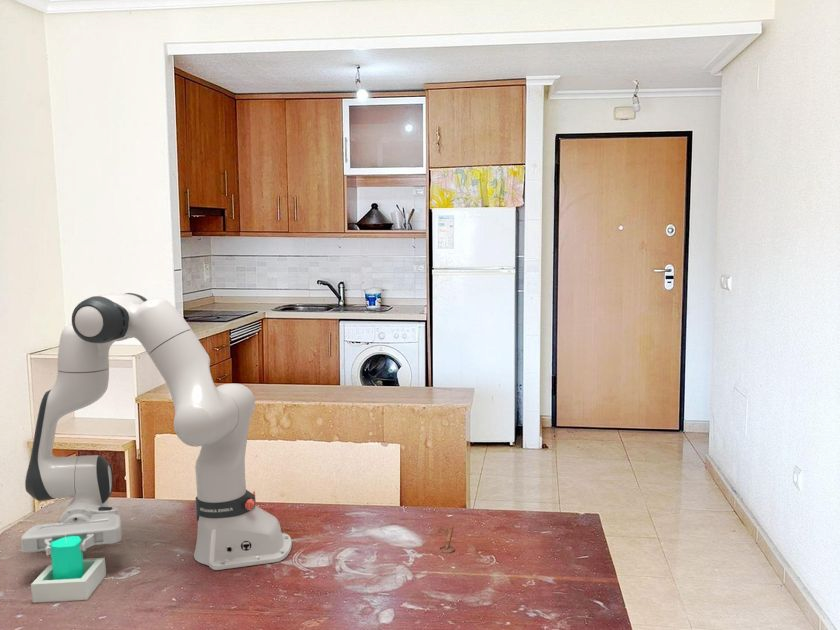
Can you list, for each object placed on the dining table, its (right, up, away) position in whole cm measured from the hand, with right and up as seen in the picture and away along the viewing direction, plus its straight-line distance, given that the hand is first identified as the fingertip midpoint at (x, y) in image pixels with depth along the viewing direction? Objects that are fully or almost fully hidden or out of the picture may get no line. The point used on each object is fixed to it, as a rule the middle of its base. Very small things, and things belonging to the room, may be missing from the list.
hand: (65, 549), depth 157 cm
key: (+81, -5, +21) cm, 84 cm away
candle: (0, -9, +2) cm, 9 cm away
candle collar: (0, -9, +2) cm, 9 cm away
